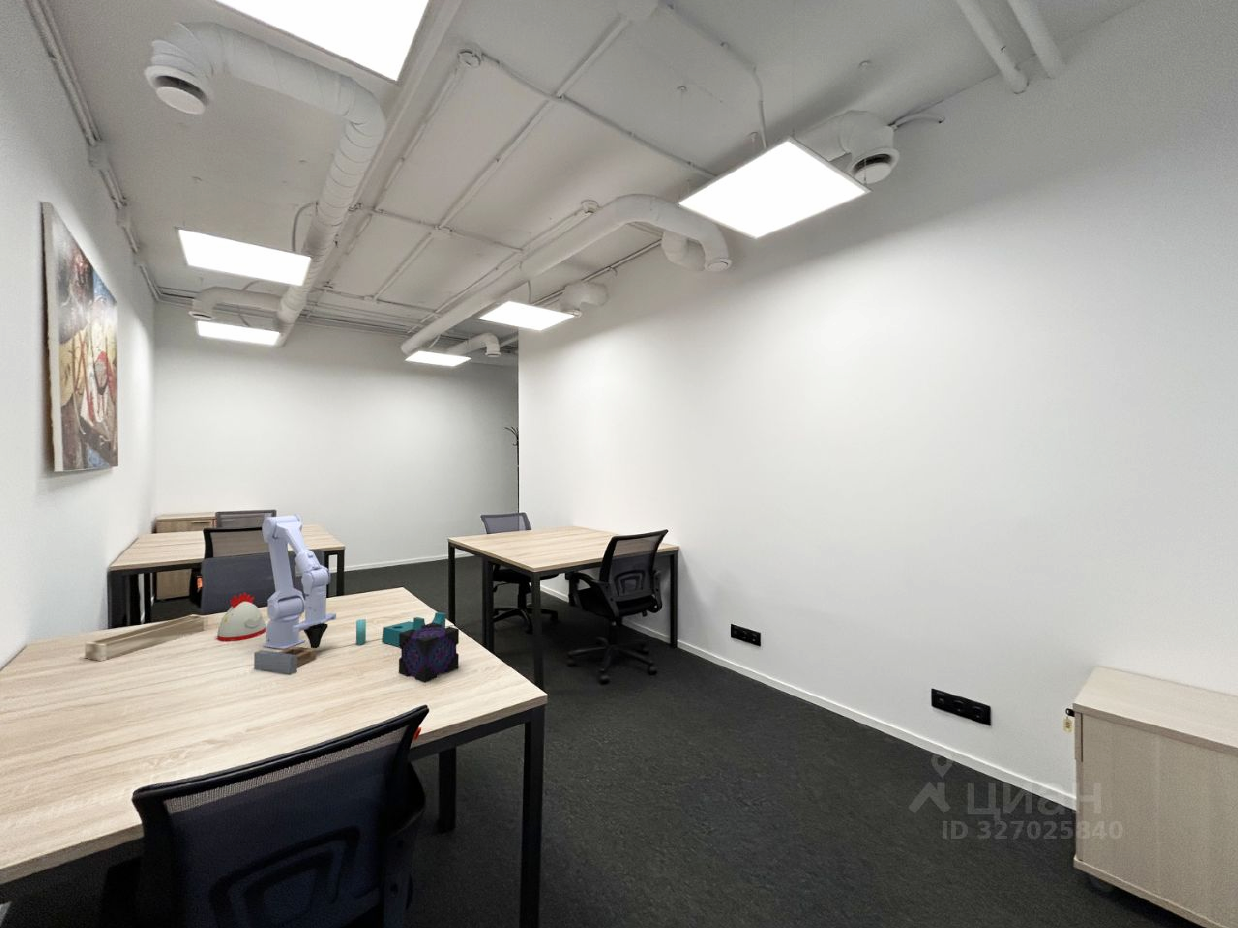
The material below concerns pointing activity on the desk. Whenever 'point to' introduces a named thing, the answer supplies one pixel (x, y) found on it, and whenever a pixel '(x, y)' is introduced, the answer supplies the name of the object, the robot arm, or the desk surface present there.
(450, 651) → the energy cube
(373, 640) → the desk surface
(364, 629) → the dowel
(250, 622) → the kitchen timer
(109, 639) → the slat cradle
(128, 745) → the desk surface
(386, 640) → the teal l-shaped bracket
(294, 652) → the socket block
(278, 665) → the wall
